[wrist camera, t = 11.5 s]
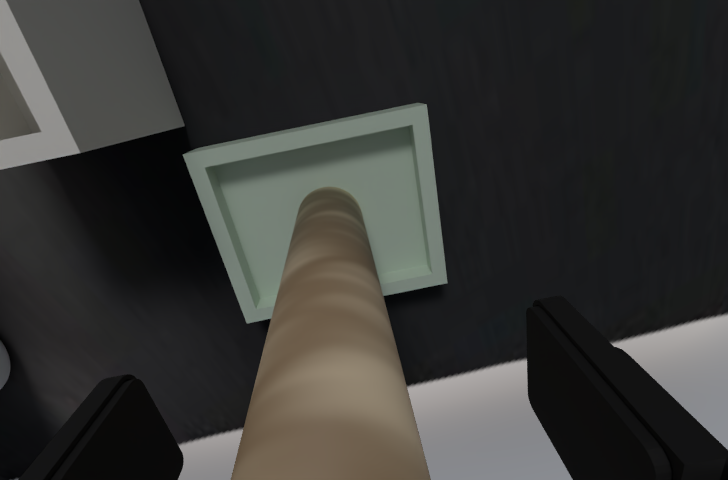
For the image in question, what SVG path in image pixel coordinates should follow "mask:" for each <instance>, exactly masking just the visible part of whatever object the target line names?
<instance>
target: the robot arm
mask: <svg viewBox="0 0 728 480" xmlns="http://www.w3.org/2000/svg"><path fill="white" fill-rule="evenodd" d="M526 317H527V372H528V397H529V401H530V404H531V406H532V408H533V410H534V412H535V414H536V416H537V417H538V419H539V421H540V423H541V424H542V426H543V428H544V430H545V431H546V433H547V435H548V437H549V438H550V440H551V442H552V444H553V445H554V447H555V449H556V451H557V453H558V454H559V456H560V458H561V460H562V461H563V463H564V465H565V466H566V468H567V470H568V472H569V474H570V475H571V477H572V479H573V480H728V450H727V449H726V448H725V447H724V446H723V445H722V444H721V443H719V441H718V440H716V438H714V437H713V436H712V435H711V434H710V433H709V432H708V431H707V430H706V429H705V428H704V427H703V426H702V425H701V424H700V423H699V422H698V421H697V420H696V419H695V418H694V417H693V416H692V415H691V414H689V412H687V411H686V410H685V409H684V408H683V407H682V406H681V405H680V404H679V403H678V402H677V401H676V400H675V399H674V398H673V397H672V396H671V395H670V394H669V393H668V392H667V391H666V390H665V389H663V388H662V386H661V385H659V384H658V383H657V382H656V381H655V380H654V379H653V378H652V377H651V376H650V375H649V374H648V373H647V372H646V371H645V370H644V369H643V368H642V367H641V366H640V365H639V364H638V363H636V362H635V360H634V359H632V358H631V357H630V356H629V355H628V354H627V353H626V352H624V351H623V350H622V349H619V348H617V347H614V346H613V345H612V344H611V343H610V342H609V341H608V340H607V339H606V338H604V337H603V336H602V335H601V334H600V333H599V332H598V331H597V330H596V329H595V328H594V327H593V326H592V325H591V324H590V323H589V322H588V321H587V320H586V319H585V318H584V317H583V316H582V315H581V314H580V313H579V312H578V311H577V310H576V309H575V308H574V307H573V306H572V305H571V304H570V303H569V302H568V301H567V300H566V299H565V298H564V297H562V296H555V297H550V298H544V299H539V300H535V301H534V303H533V307H530V308H528V309H527V313H526ZM182 467H183V454H182V452H181V450H180V448H179V446H178V444H177V443H176V441H175V439H174V437H173V436H172V434H171V432H170V430H169V428H168V427H167V425H166V423H165V421H164V419H163V418H162V416H161V414H160V412H159V411H158V409H157V407H156V405H155V403H154V402H153V400H152V398H151V396H150V394H149V393H148V391H147V389H146V387H145V385H144V384H143V382H142V381H141V380H139V379H136V378H135V376H133V375H128V374H127V375H122V376H116V377H111V378H106V379H104V380H102V381H101V382H99V383H98V385H97V386H96V387H95V388H94V389H93V391H92V392H91V393H90V394H89V395H88V397H87V398H86V399H85V400H84V401H83V403H82V404H81V405H80V406H79V407H78V409H77V410H76V411H75V412H74V413H73V415H72V416H71V417H70V418H69V419H68V421H67V422H66V423H65V424H64V425H63V427H62V428H61V429H60V430H59V431H58V433H57V434H56V435H55V436H54V437H53V439H52V440H51V441H50V442H49V444H48V445H47V446H46V447H45V448H44V450H43V451H42V452H41V453H40V454H39V456H38V457H37V458H36V459H35V460H34V462H33V463H32V464H31V465H30V466H29V468H28V469H27V470H26V471H25V472H24V474H23V475H22V476H21V477H20V478H19V480H178V478H179V475H180V473H181V470H182Z"/></svg>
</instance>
